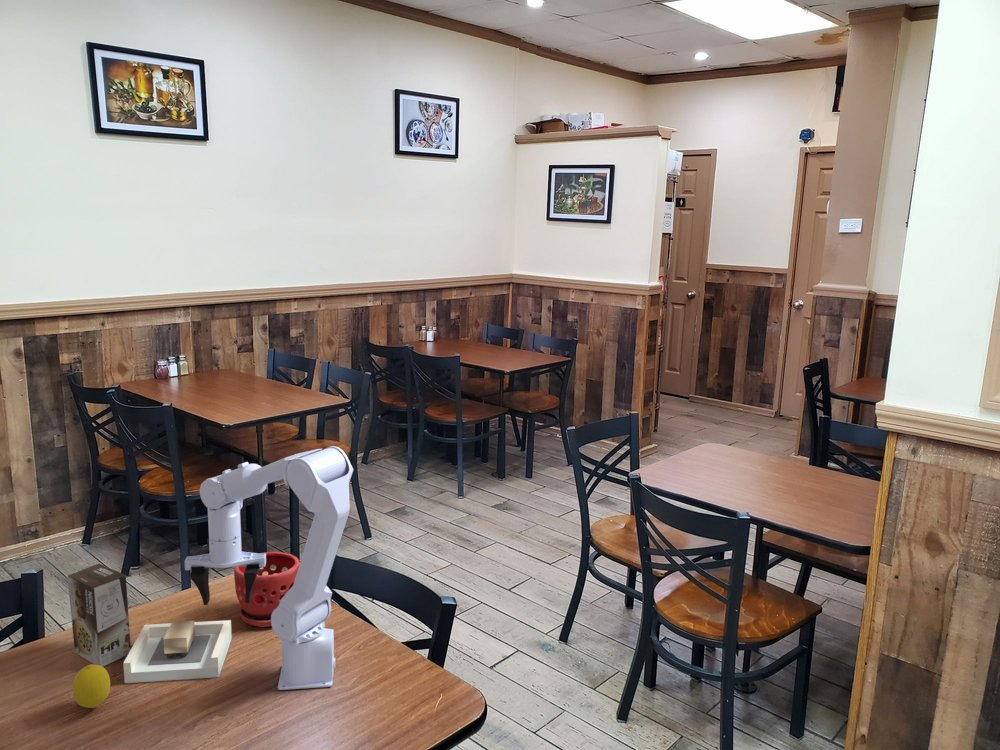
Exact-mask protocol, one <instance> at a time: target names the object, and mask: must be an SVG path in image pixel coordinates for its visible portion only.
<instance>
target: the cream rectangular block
mask: <svg viewBox="0 0 1000 750" xmlns="http://www.w3.org/2000/svg"><path fill="white" fill-rule="evenodd" d="M194 622H195V620H185V621H184V620H182V621H172V622H171V625H170V627H169V629H168V631H167V633H166V635H165V637H164V654H166V656H167V657H169V658H170V657H173V656H174V653H180V655H181V656H182V657H185V656H187V654H188V650H189V648H190V645H191V643H192V642H193V641H194V636H195V624H194Z"/></svg>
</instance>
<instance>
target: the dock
mask: <svg viewBox="0 0 1000 750" xmlns="http://www.w3.org/2000/svg"><path fill="white" fill-rule="evenodd" d="M171 623H172V622H171ZM171 623H156V624H155V623H154V624H153V623H152V624H151V623H150V624H144V625H143V627H142V629H141V631H140V632H139V635H138V636H137V638H136V640H135V641H134V643H133V645H132V646H131V650H130V652H129V654H128V655H127V656H125V659H124V661H123V663H122V665H123V676H124V678H123V679H124V684H135V683H153V682H164V681H167V682H168V681H181V680H182V681H183V680H195V679H196V680H198V679H211V678H213V679H214V678H220V675H221V671H222V668H223V666H224V662H225V659H226V657H227V654H228V650H229V648H230V645H231V641H232V639H233V638H232V620H231V619H227V620H211V621H209V620H207V621H194V624H195V636H194V641H193V642H192V643H191V645H190V648H189V650H188V654H187V656H185V657H182V656H181V655H180V653H174V656H173V657H170V658H169V657H167V656H166V654H164V637H165V635H166V633H167V631H168V629H169V627H170V625H171Z"/></svg>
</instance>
